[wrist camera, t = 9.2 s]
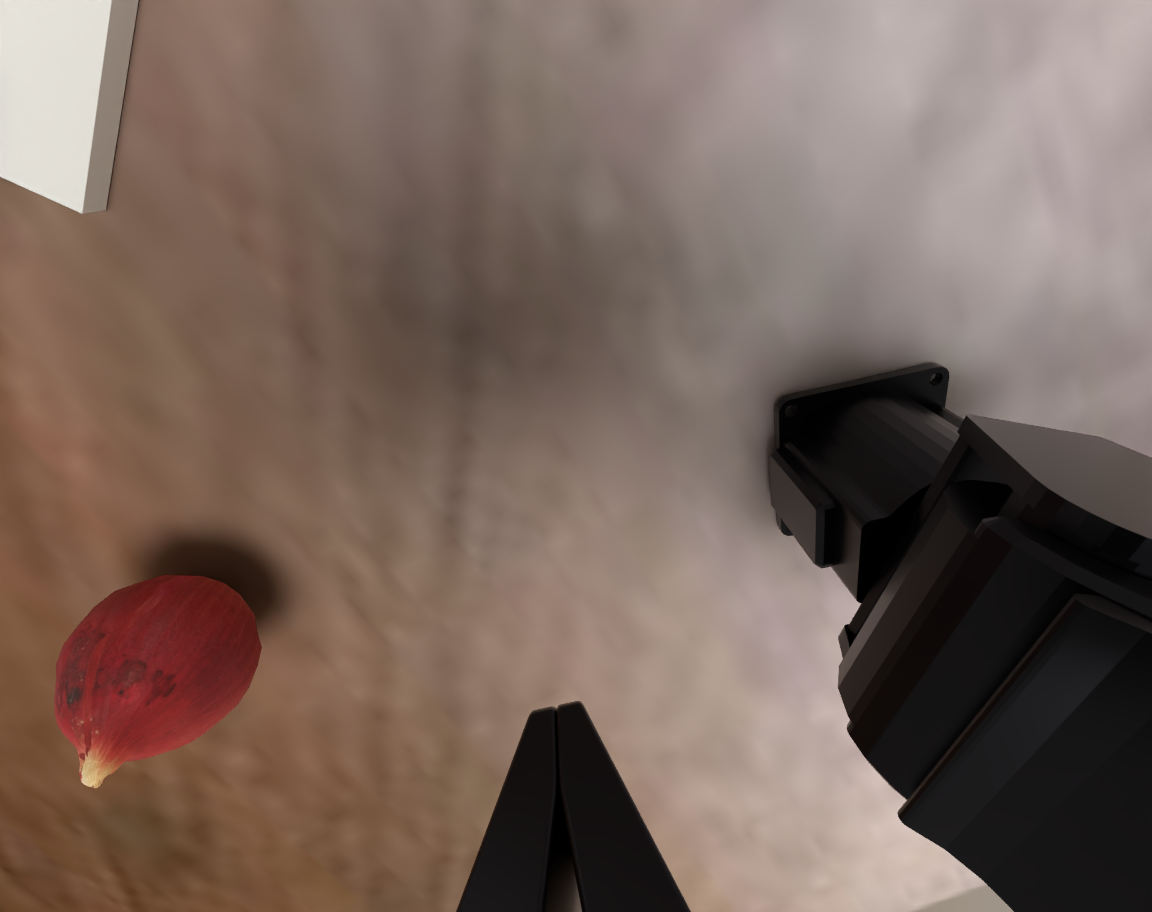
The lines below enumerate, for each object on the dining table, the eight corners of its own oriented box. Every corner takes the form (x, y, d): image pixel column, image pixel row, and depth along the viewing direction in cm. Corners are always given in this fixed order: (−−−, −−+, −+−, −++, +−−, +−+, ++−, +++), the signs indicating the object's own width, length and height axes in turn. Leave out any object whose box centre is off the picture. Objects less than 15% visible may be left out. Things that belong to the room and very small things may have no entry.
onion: (104, 559, 22) (-91, 750, 15) (234, 513, 21) (95, 688, 14) (200, 653, 25) (73, 851, 18) (316, 615, 24) (234, 802, 17)
